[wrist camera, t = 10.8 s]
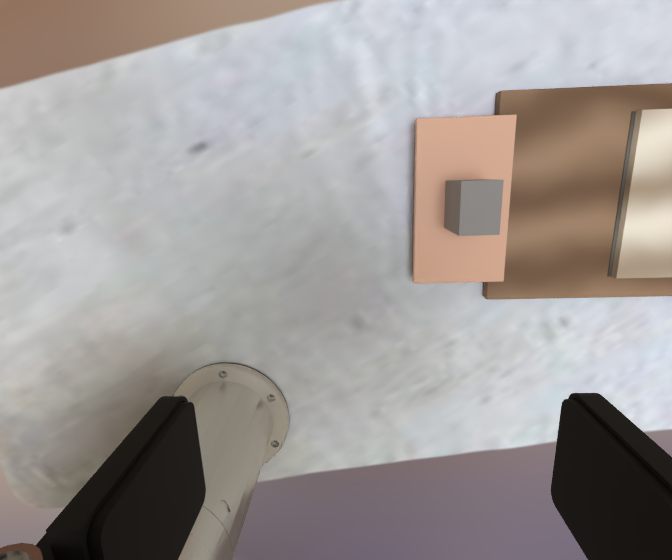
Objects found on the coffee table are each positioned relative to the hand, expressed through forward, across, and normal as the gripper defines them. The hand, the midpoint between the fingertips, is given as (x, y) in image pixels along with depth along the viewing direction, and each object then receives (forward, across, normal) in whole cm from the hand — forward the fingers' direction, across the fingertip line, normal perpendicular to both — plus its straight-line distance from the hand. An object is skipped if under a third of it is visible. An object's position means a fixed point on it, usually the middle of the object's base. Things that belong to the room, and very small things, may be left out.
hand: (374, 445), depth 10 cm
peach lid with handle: (+27, -9, -4) cm, 29 cm away
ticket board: (+28, -24, -4) cm, 37 cm away
